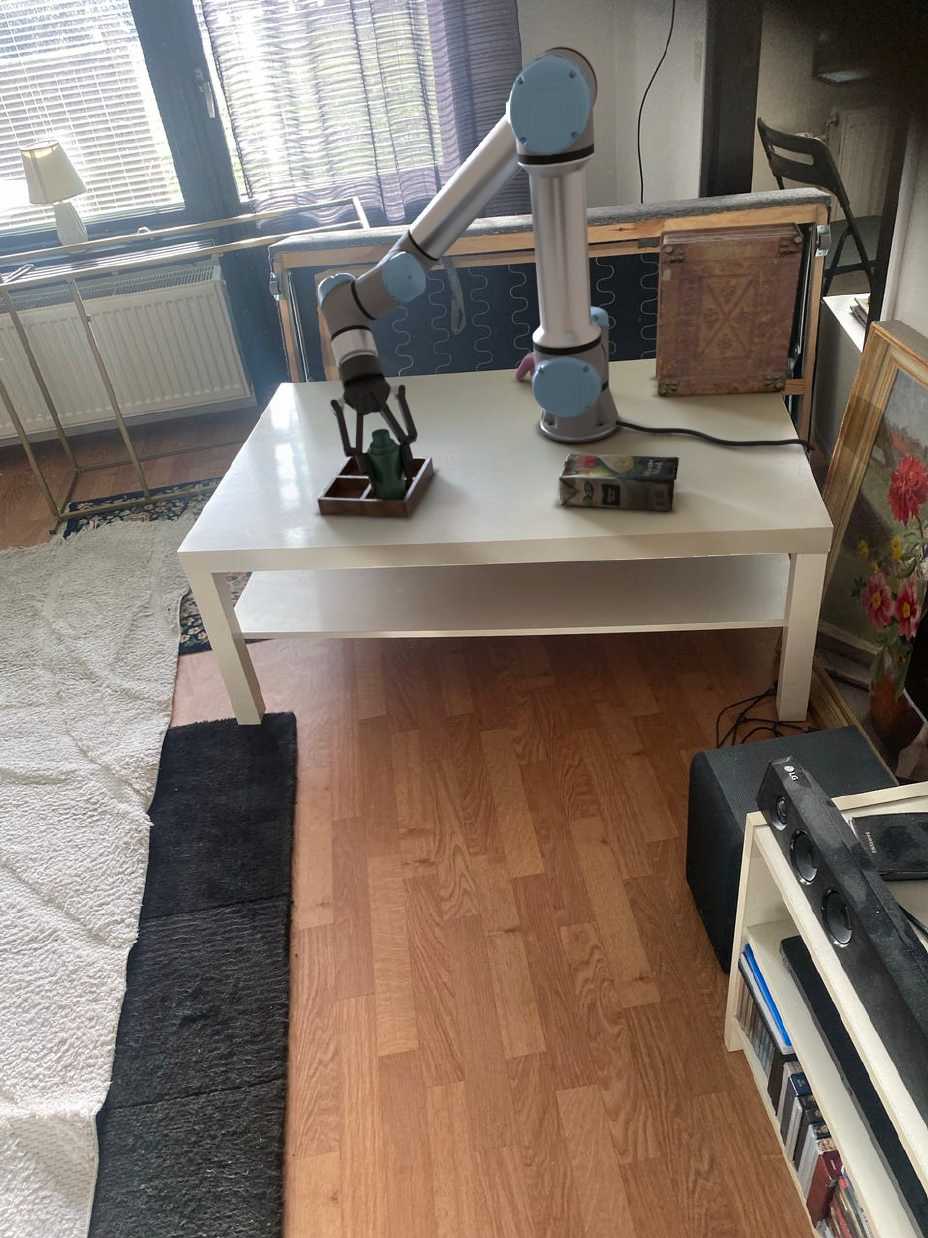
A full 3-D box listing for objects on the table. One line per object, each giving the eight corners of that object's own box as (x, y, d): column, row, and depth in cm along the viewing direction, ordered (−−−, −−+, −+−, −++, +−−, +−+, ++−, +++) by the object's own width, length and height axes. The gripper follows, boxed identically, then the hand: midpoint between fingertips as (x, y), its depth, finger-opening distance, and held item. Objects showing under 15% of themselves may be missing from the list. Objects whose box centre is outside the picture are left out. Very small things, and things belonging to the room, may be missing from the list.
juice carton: (552, 506, 156) (551, 474, 152) (563, 479, 163) (562, 448, 159) (671, 514, 150) (673, 481, 146) (677, 485, 158) (679, 453, 154)
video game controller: (559, 390, 197) (567, 357, 195) (547, 388, 194) (555, 354, 192) (524, 381, 203) (532, 349, 201) (512, 379, 199) (519, 346, 197)
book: (656, 396, 186) (660, 244, 168) (655, 377, 193) (659, 230, 175) (785, 391, 182) (803, 235, 164) (779, 372, 189) (796, 221, 171)
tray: (433, 471, 170) (431, 456, 169) (408, 517, 158) (405, 502, 156) (351, 469, 175) (348, 454, 173) (320, 514, 162) (317, 499, 160)
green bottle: (410, 486, 162) (400, 425, 155) (401, 502, 158) (390, 440, 151) (381, 485, 164) (370, 425, 157) (371, 501, 160) (359, 440, 152)
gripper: (408, 360, 164) (442, 480, 161) (307, 382, 161) (340, 504, 158) (410, 341, 157) (446, 466, 154) (304, 364, 154) (339, 492, 151)
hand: (392, 485), depth 156 cm, fingers closed on green bottle, 6 cm apart
